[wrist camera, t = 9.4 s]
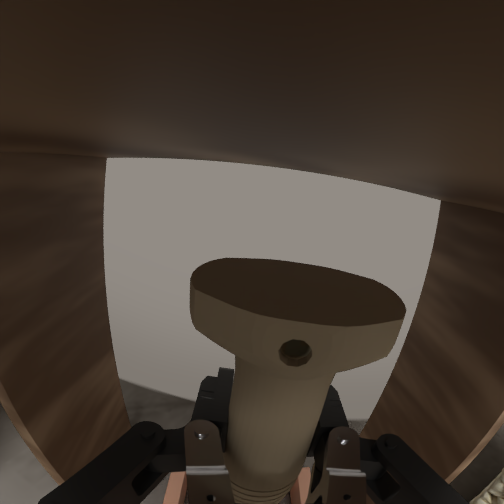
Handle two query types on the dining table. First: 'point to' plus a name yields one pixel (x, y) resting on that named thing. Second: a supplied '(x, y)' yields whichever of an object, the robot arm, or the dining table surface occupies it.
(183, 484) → the socket
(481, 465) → the dining table surface
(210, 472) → the robot arm
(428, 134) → the wooden footstool
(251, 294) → the handle
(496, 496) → the storage basket
